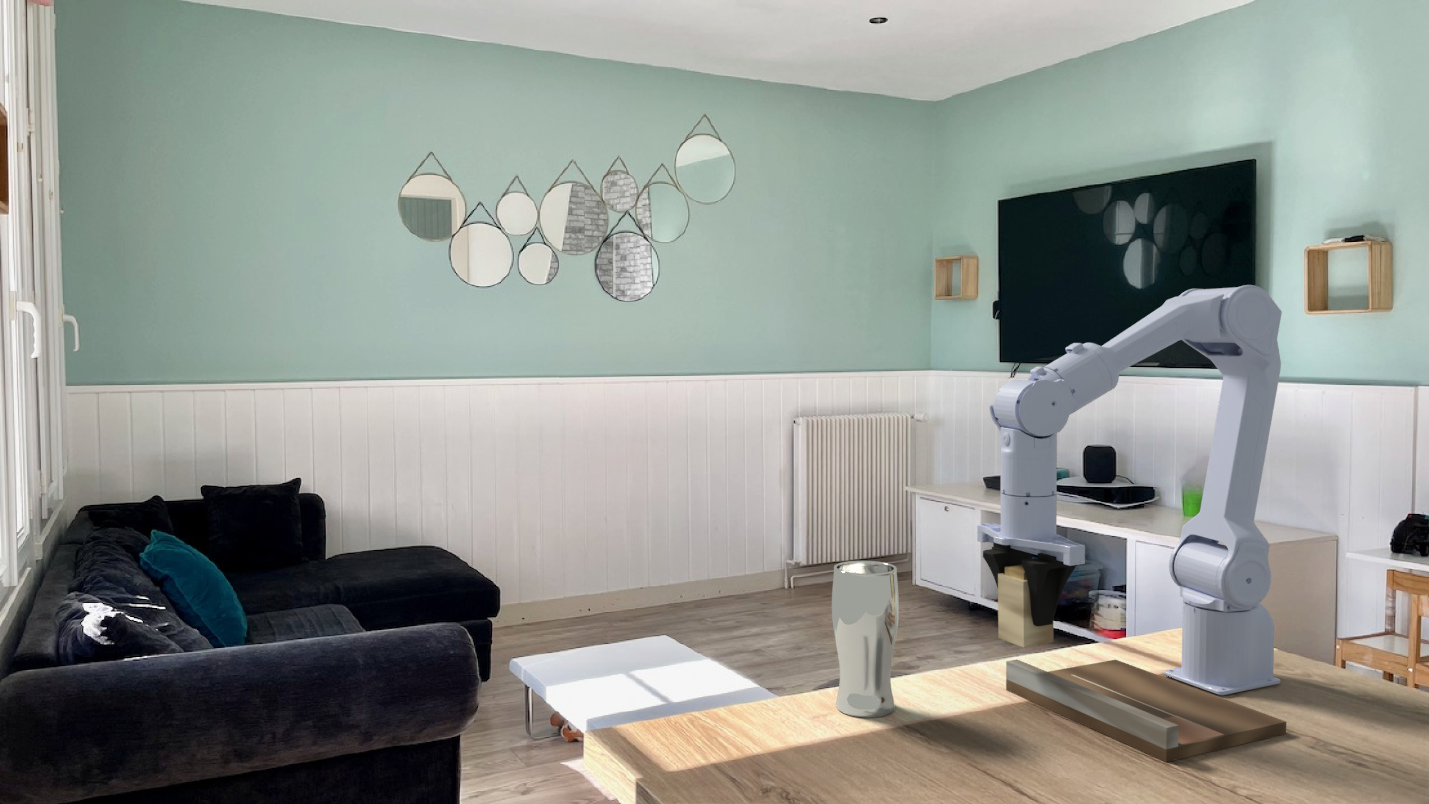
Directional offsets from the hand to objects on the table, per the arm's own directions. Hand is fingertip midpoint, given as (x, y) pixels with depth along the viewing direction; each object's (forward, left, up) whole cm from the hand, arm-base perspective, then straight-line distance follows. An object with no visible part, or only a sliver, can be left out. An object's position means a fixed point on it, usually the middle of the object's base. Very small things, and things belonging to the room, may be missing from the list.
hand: (1027, 619), depth 113 cm
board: (-8, +8, -9) cm, 14 cm away
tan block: (0, 0, -2) cm, 2 cm away
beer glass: (+17, -5, -9) cm, 20 cm away
